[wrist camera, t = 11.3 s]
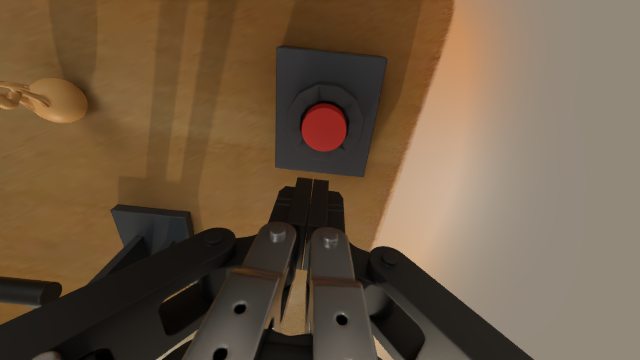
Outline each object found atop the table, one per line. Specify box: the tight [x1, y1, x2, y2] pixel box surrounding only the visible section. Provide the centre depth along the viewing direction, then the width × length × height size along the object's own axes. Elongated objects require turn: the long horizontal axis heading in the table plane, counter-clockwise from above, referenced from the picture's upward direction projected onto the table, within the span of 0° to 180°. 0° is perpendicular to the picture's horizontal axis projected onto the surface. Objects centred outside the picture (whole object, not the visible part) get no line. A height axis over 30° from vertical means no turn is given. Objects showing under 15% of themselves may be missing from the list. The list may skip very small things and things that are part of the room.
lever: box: [0, 276, 62, 309], centre depth 22 cm, size 12×5×2 cm, turn 175°
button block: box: [275, 46, 387, 177], centre depth 24 cm, size 11×9×4 cm
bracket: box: [87, 205, 199, 285], centre depth 29 cm, size 12×9×13 cm
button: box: [302, 103, 346, 151], centre depth 21 cm, size 4×4×2 cm
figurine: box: [0, 78, 88, 123], centre depth 20 cm, size 8×6×12 cm
